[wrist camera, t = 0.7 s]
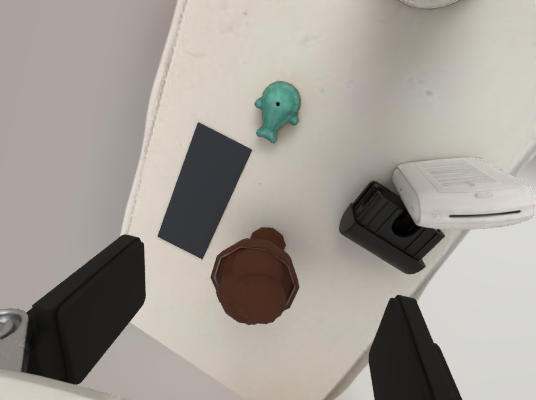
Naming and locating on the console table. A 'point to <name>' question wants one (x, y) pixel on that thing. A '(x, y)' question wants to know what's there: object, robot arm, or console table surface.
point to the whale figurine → (278, 108)
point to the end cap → (388, 229)
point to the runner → (203, 190)
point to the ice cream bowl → (255, 278)
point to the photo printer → (462, 194)
